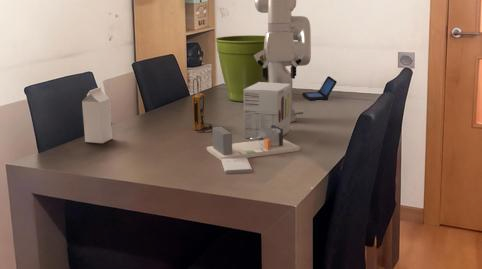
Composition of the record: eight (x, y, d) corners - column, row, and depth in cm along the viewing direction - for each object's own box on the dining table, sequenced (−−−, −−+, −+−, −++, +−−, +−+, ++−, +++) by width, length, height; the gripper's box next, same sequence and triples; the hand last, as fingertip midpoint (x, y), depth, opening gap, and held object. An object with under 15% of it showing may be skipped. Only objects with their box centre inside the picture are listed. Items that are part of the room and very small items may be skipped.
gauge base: (281, 140, 225) (281, 118, 223) (299, 150, 212) (299, 126, 210) (206, 150, 214) (206, 126, 212) (221, 161, 202) (221, 136, 200)
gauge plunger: (273, 140, 220) (273, 125, 218) (286, 147, 211) (286, 131, 209) (246, 144, 216) (245, 128, 214) (257, 151, 207) (257, 134, 206)
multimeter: (216, 133, 236) (215, 80, 231) (190, 132, 238) (188, 80, 233) (225, 124, 250) (224, 74, 245) (200, 123, 252) (199, 73, 247)
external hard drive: (225, 175, 190) (221, 163, 202) (252, 174, 190) (247, 161, 202) (225, 170, 189) (221, 158, 201) (252, 168, 190) (247, 157, 202)
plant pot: (280, 104, 285) (281, 40, 278) (215, 105, 286) (213, 41, 279) (278, 92, 314) (278, 34, 307) (218, 93, 315) (216, 35, 308)
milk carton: (112, 138, 231) (109, 87, 226) (102, 143, 224) (98, 91, 220) (95, 137, 233) (91, 86, 228) (84, 142, 227) (80, 90, 222)
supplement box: (278, 141, 224) (278, 91, 220) (243, 138, 229) (242, 89, 224) (291, 130, 240) (291, 82, 236) (258, 127, 245) (258, 81, 240)
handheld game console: (301, 95, 308) (301, 76, 305) (328, 94, 309) (328, 75, 307) (308, 101, 293) (308, 81, 290) (336, 100, 294) (337, 80, 292)
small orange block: (266, 147, 210) (266, 138, 210) (270, 149, 208) (270, 140, 207) (264, 147, 210) (264, 138, 209) (267, 149, 207) (267, 140, 207)
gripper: (300, 27, 219) (300, 76, 223) (252, 28, 216) (252, 78, 220) (307, 28, 212) (306, 79, 216) (256, 29, 209) (256, 81, 213)
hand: (279, 78), depth 218 cm, fingers open, 9 cm apart
